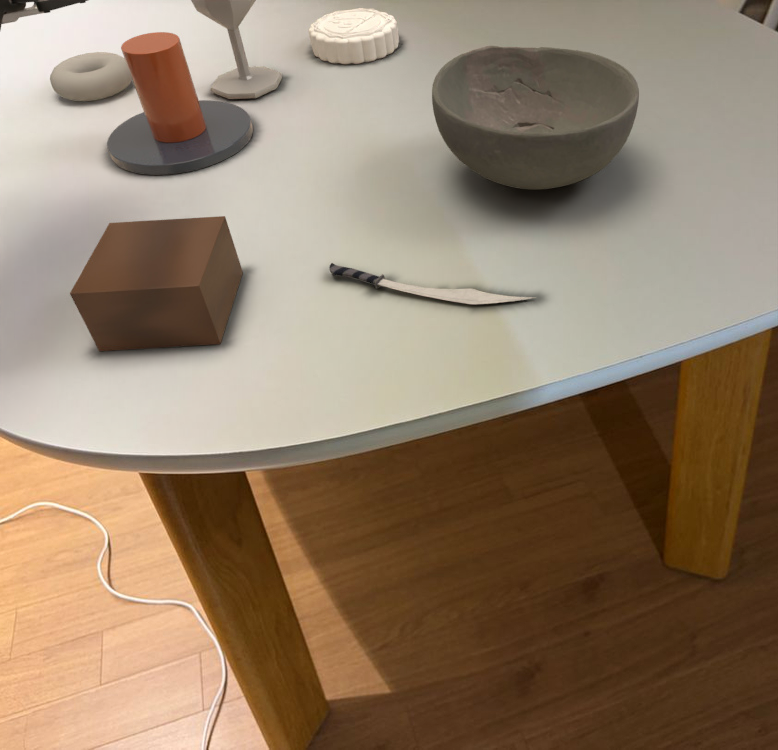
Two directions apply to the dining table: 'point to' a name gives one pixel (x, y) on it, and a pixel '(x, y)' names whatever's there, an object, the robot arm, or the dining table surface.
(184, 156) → the plate
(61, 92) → the donut
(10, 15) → the robot arm
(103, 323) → the stand
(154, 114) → the orange cylinder
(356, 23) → the mooncake
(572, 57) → the bowl
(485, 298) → the knife
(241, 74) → the wineglass
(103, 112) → the dining table surface
